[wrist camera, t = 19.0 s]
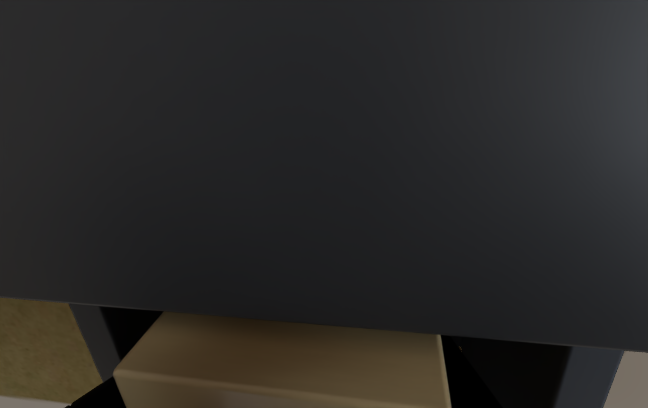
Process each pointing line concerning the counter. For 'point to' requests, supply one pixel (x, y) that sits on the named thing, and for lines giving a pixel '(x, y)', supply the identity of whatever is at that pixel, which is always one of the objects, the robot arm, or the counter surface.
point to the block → (280, 366)
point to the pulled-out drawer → (483, 354)
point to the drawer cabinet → (333, 162)
